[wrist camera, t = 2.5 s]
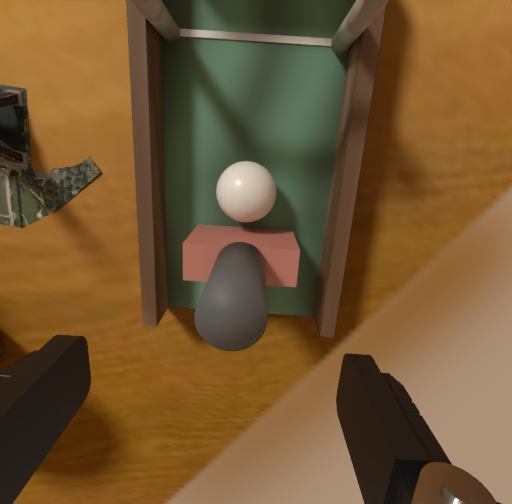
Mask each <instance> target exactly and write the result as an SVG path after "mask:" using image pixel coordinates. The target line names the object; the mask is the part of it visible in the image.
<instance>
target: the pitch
mask: <svg viewBox="0 0 512 504" xmlns="http://www.w3.org/2000/svg"><path fill="white" fill-rule="evenodd" d="M389 1H390V0H126V4H127V24H128V43H129V63H130V82H131V101H132V121H133V140H134V160H135V179H136V199H137V218H138V237H139V257H140V276H141V296H142V315H143V326H157V325H158V323H159V322H160V320H161V318H162V317H163V315H164V313H165V312H166V310H167V308H168V307H172V308H188V309H196V307H197V304H198V302H199V299H200V297H201V295H202V292H203V290H204V287H205V285H206V283H207V282H204V281H189V280H183V242H184V241H185V240H186V238H187V237H188V236H189V235H190V234H191V233H192V231H193V230H194V229H195V228H196V227H197V225H198V224H202V225H217V226H232V227H248V228H263V229H279V230H292V231H293V233H294V236H295V238H296V241H297V243H298V246H299V249H300V257H299V266H298V275H297V284H296V287H282V286H267V285H266V300H267V314H282V315H298V316H314V318H315V322H316V325H317V328H318V331H319V334H320V337H331V338H334V334H335V328H336V321H337V315H338V309H339V302H340V296H341V290H342V283H343V277H344V270H345V264H346V258H347V251H348V245H349V239H350V232H351V226H352V219H353V213H354V207H355V200H356V194H357V188H358V181H359V175H360V168H361V162H362V156H363V149H364V143H365V137H366V130H367V124H368V118H369V111H370V105H371V98H372V92H373V86H374V79H375V73H376V67H377V60H378V54H379V47H380V41H381V35H382V28H383V22H384V16H385V9H386V4H387V3H388V2H389ZM242 161H251V162H255V163H258V164H260V165H262V166H263V167H265V168H266V169H267V170H268V171H269V172H270V174H271V175H272V177H273V179H274V181H275V184H276V199H275V203H274V205H273V207H272V209H271V210H270V211H269V213H268V214H267V215H265V216H264V217H263V218H261V219H259V220H257V221H253V222H240V221H236V220H234V219H232V218H230V217H229V216H228V215H226V214H225V213H224V211H223V210H222V209H221V207H220V205H219V203H218V200H217V195H216V188H217V183H218V180H219V178H220V176H221V174H222V173H223V172H224V171H225V170H226V169H227V168H228V167H229V166H231V165H232V164H235V163H237V162H242Z"/></svg>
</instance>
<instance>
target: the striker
mask: <svg viewBox="0 0 512 504" xmlns="http://www.w3.org/2000/svg"><path fill="white" fill-rule="evenodd" d="M299 257H300V249H299V246H298V243H297V241H296V238H295V236H294V233H293V231H292V230H279V229H263V228H248V227H232V226H217V225H202V224H198V225H197V227H196V228H195V229H194V230H193V231H192V233H191V234H190V235H189V236H188V237H187V238H186V240H185V241H184V242H183V280H189V281H204V282H207V283H206V285H205V287H204V290H203V292H202V295H201V297H200V299H199V302H198V304H197V307H196V309H195V315H194V320H195V326H196V329H197V331H198V333H199V334H200V336H201V337H202V338H203V339H204V340H205V341H206V342H207V343H208V344H210V345H211V346H213V347H215V348H218V349H221V350H225V351H239V350H243V349H246V348H248V347H250V346H252V345H254V344H255V343H256V342H257V341H258V340H259V339H260V338H261V337H262V335H263V334H264V332H265V329H266V326H267V300H266V285H267V286H282V287H296V284H297V275H298V266H299Z"/></svg>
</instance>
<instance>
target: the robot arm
mask: <svg viewBox="0 0 512 504" xmlns="http://www.w3.org/2000/svg"><path fill="white" fill-rule="evenodd" d="M90 384H91V374H90V365H89V355H88V346H87V340H86V338H85V337H83V336H70V335H56V336H54V337H53V338H52V339H51V340H50V341H49V342H47V343H46V344H45V345H44V346H43V347H42V348H41V349H40V350H39V351H33V352H31V353H29V354H27V355H26V356H24V357H22V358H20V359H18V360H16V361H15V362H13V363H12V364H11V365H10V366H9V367H8V368H6V369H5V370H4V371H3V372H2V373H1V374H0V504H13V502H14V501H15V500H16V498H17V497H18V495H19V494H20V492H21V491H22V489H23V488H24V487H25V485H26V484H27V482H28V481H29V479H30V478H31V477H32V475H33V474H34V472H35V471H36V469H37V468H38V467H39V465H40V464H41V462H42V461H43V459H44V458H45V457H46V455H47V454H48V452H49V451H50V449H51V448H52V447H53V445H54V444H55V442H56V441H57V439H58V438H59V437H60V435H61V434H62V432H63V431H64V429H65V428H66V426H67V425H68V424H69V422H70V421H71V419H72V418H73V416H74V415H75V414H76V412H77V411H78V409H79V408H80V406H81V405H82V404H83V402H84V401H85V399H86V397H87V395H88V392H89V389H90ZM336 398H337V399H336V403H337V413H338V417H339V421H340V424H341V427H342V430H343V434H344V437H345V441H346V444H347V447H348V450H349V454H350V457H351V460H352V463H353V467H354V470H355V474H356V477H357V480H358V484H359V487H360V490H361V493H362V496H363V500H364V503H365V504H501V503H498V502H496V501H495V499H494V498H493V496H492V495H491V493H490V492H489V491H488V490H487V489H486V488H485V487H484V485H483V484H482V483H481V482H479V481H478V480H477V479H476V478H475V477H473V476H472V475H470V474H469V473H468V472H466V471H464V470H463V469H461V468H458V467H456V466H454V465H452V464H451V462H450V461H449V459H448V458H447V456H446V454H445V452H444V451H443V449H442V448H441V446H440V444H439V443H438V441H437V440H436V438H435V436H434V435H433V433H432V432H431V430H430V428H429V427H428V425H427V424H426V422H425V420H424V419H423V417H422V416H420V413H419V411H418V409H417V407H416V406H415V404H414V403H412V399H411V398H410V396H409V394H408V393H407V391H406V390H405V388H404V386H403V385H401V383H399V382H398V381H397V380H396V379H395V378H394V377H393V376H391V375H390V374H389V373H381V372H380V370H379V368H378V366H377V365H376V363H375V361H374V359H373V358H372V357H371V356H370V355H361V354H345V355H344V358H343V362H342V367H341V373H340V379H339V384H338V390H337V397H336Z"/></svg>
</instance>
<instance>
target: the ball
mask: <svg viewBox="0 0 512 504" xmlns="http://www.w3.org/2000/svg"><path fill="white" fill-rule="evenodd" d="M216 195H217V200H218V203H219V205H220V207H221V209H222V210H223V211H224V213H225V214H226V215H228V216H229V217H230V218H232V219H234V220H236V221H240V222H253V221H257V220H259V219H261V218H263V217H264V216H265V215H267V214H268V213H269V211H270V210H271V209H272V207H273V205H274V203H275V199H276V184H275V181H274V179H273V177H272V175H271V174H270V172H269V171H268V170H267V169H266V168H265V167H263V166H262V165H260V164H258V163H255V162H251V161H242V162H237V163H235V164H232V165H231V166H229V167H228V168H227V169H226V170H225V171H224V172H223V173H222V174H221V176H220V178H219V180H218V183H217V188H216Z"/></svg>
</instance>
